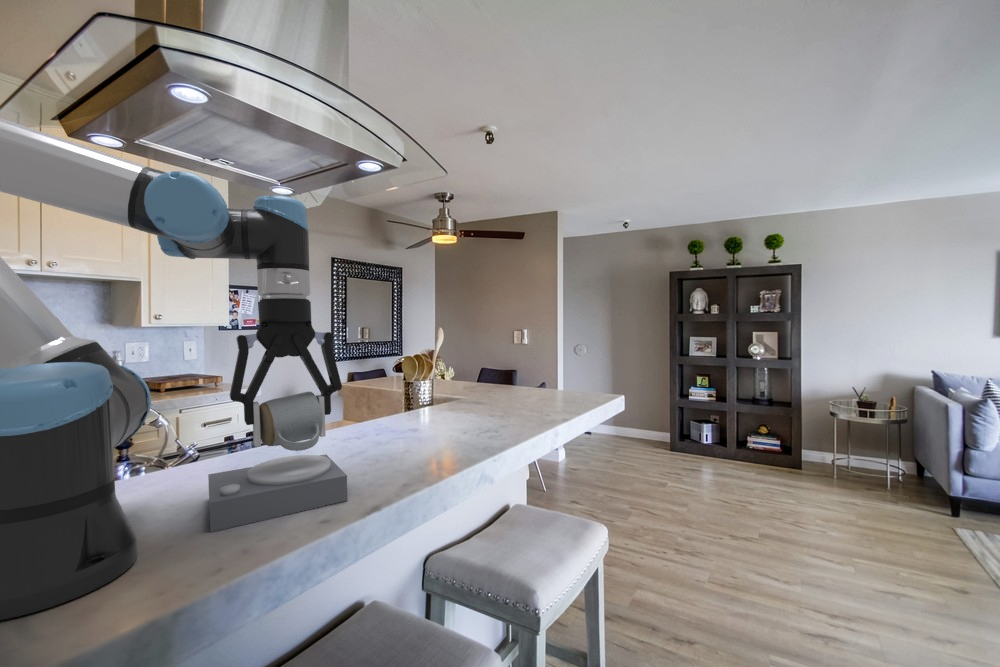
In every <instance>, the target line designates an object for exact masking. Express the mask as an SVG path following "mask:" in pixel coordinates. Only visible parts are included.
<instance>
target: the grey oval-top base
mask: <svg viewBox="0 0 1000 667" xmlns="http://www.w3.org/2000/svg"><path fill="white" fill-rule="evenodd" d="M207 476H208V477H207V478H208V500H209V501H208V502H209V503H208V506H209V525H210V529H209V530H210V533H213V532H218V531H223V530H226V529H230V528H235V527H240V526H244V525H247V524H252V523H257V522H261V521H262V522H263V521H266V520H269V519H274V518H279V517H283V516H287V515H288V516H289V515H292V514H297V513H300V511H301V512H305V511H304V510H306V511H310V510H313V508H314V509H318V508H317V507H319V508H322V507H321V506H323V507H326V506H325V505H327V506H330V505H329V504H332V505H334V504H333V503H336V504H340V503H339V502H341V503H344V502H343V501H345V502H348V501H347V500H349V498H348V475H347V474H346V473H345V471H343V470H342V469H341V468H340V467H339V466H338V465H337V464H336V463H335V462H334V461H333V459H331V457H330V456H328V455H327V453H326V454H325V453H324V454H321V455H316V454H303V455H302V454H301V455H290V456H284V457H279V458H274V459H270V460H269V459H268V460H266V461H264V462H260V463H258V464H256V465H253V466H251V467H244V468H239V469H234V470H233V469H232V470H227V471H221V472H215V473H209V474H207ZM309 509H310V510H309ZM296 512H297V513H296Z"/></svg>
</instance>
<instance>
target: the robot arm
mask: <svg viewBox="0 0 1000 667" xmlns="http://www.w3.org/2000/svg"><path fill="white" fill-rule="evenodd" d="M0 192H1V193H4V194H7V195H11V196H15V197H19V198H23V199H26V200H29V201H32V202H33V201H34V202H37V203H41V204H45V205H48V206H52V207H55V208H59V209H63V210H66V211H70V212H74V213H78V214H81V215H85V216H89V217H92V218H96V219H99V220H103V221H105V222H110V223H114V224H117V225H121V226H123V227H124V226H125V227H127V228H132V229H135V230H138V231H140V232H143V233H147V234H151V235H155V236H156V239H157V242H158V245H159V246H160V249H161V252H163V253H164V255H166V256H168V257H177V258H186V259H189V260H195V259H228V260H231V259H234V260H235V259H239V260H256V279H257V282H256V283H257V284H256V285H257V295H258V296H260V297H262V298H261V299H259V301H258V302H257V304H258V308H257V309H258V329H257V330H256V333H251V334H245V335H243V334H239V335H237V336H236V343H237V350H238V353H237V358H236V361H235V362H236V363H235V367H234V372H233V377H232V382H231V387H230V392H229V398H230V400H231V401H233V402H238V403H242V404H243V415H244V416H243V418H244V423H245V425H246V426H250V425H252V433H253V434H252V435H253V438H252V439H253V440H252V441H253V446H254V447H255V448H258V447H262V443H261V442H262V440H261V436H260V411H259V405H260V403H259V402H258V401H255V399H256V397H257V395H258V393H259V391H260V389H261V386H262V384H263V383H264V380H265V378H266V376H267V373H268V371H269V369H270V368H271V366H272V364H273V363H274V361H275V359H276V358H285V357H287V356H288V357H293V358H294V357H299V359H301V361H302V362H303V364H304V366H305V368H306V370H307V371H308V373H309V374H310V376H311V378H312V380H313V381H314V384H315V385H316V387H317V389H318V390H319V392H320V394H315V396H316V398H317V400H318V402H319V405H320V408H321V411H322V431H321V434H320V436H319V438H323V437H326V435H327V434H326V416H327V415H331V412H332V404H331V402H332V399H331V397H332V394H334V393H336V392H339V391H341V390H342V388H343V385H342V381H341V380H342V379H341V378H340V374H339V369H338V366H337V362H336V358H335V355H334V354H335V353H334V349H333V347H332V345H333V337H334V336H333V335H334V334H333V333H332V332H329V331H326V332H321V331H315V329H314V328H313V325H312V324H313V323H312V306H311V303H312V302H311V301H310V299H307V297H309V296H310V295H311V280H310V251H309V250H310V248H309V246H310V245H309V242H310V241H309V231H310V230H309V224H308V214H307V208H306V206H305V205H304V202H302V201H300V200H299V199H296V198H295V197H294V198H293V197H289V196H284V195H262V196H259V197H256V198H255V200H254V205H253V207H252V208H251V209H245V208H244V209H240V208H229V207H228V206H227V203H226V201H225V199H224V197H223V196H222V194H221V193H220V192H219V190H218V189H217V188H216V187H214V186H213V185H212V184H211V183H210V181H208V180H206V179H205V178H203V177H201V176H200V175H198V174H195V173H192V172H189V171H188V172H187V171H169V172H165V171H163V170H159V169H155V168H152V167H150V166H147V165H144V164H141V163H138V162H135V161H131V160H129V159H127V158H126V159H125V158H122V157H120V156H117V155H113V154H111V153H109V152H108V153H107V152H105V151H101V150H98V149H96V148H93V147H90V146H86V145H83V144H82V143H81V144H80V143H77V142H74V141H71V140H68V139H65V138H62V137H60V136H56V135H53V134H50V133H48V132H44V131H41V130H38V129H35V128H32V127H28V126H27V125H23V124H20V123H17V122H14V121H11V120H8V119H5V118H2V117H0ZM314 339H315V340H316V342H317V344H318V345H319V346H320V349H321V353H322V357H323V361H324V365H325V369H326V372H327V376H328V380H329V384H328V383H327V381H326V380H325V377H323V374H322V372H321V371H320V369H319V367H318V366H317V364H316V362H315V361H314V358H313V356H312V354H311V352H310V350H309V349H308V347H310V344H311V343H312V342H313V340H314ZM256 341H258V343H260V344H261V346H262V347H263V348H264V349H265V351H264V354H263V356H262V358H261V361H260V362H259V364H258V366H257V369H256V371H255V373H254V375H253V377H252V379H251V381H250V383H249V385H248V388H247V389H246V391H245V393H242V388H243V383H244V379H245V378H244V377H245V375H246V374H245V373H246V367H247V364H248V358H249V351H250V350H249V349H252V348H253V347H254V343H255V342H256ZM151 406H152V396H151V392H150V388H149V385H148V384H147V383H146V381H145V380H144V379H143V378H142V377H141V375H139V374H138V373H137V372H135V371H134V370H132V369H130V368H128V367H126V366H123V365H120V364H118V363H117V362H116V361H115V360H114V359H113V358H112V356H111V355H110V354H109V353H108V352H107V351H106V350H105V349H104V348H103V347H102V346H101V345H100V344H99V343H98V342H97V340H95V339H87V338H80V337H77V336H75V335H73V334H72V333H71V331H70V330H69V329H68V328H67V327H66V326H65V325H64V324H63V323H62V322H61V320H60V319H58V317H57V316H56V315H55V314H54V313H53V312H52V311H51V310H50V309H49V307H48V306H46V304H45V303H44V302H43V301H42V300H41V299H40V297H38V296H37V294H36V293H34V291H33V290H32V289H31V288H30V287H29V286H28V285H27V283H26V282H25V281H23V279H21V277H20V276H19V275H18V274H17V273H16V272H15V271H14V269H13V268H11V267H10V266H9V264H8V263H7V261H5V260H4V259H3V258H2V257H1V256H0V621H3V620H9V619H12V618H17V617H21V616H25V615H30V614H33V613H37V612H40V611H42V610H47V609H49V608H53V607H56V606H58V605H61V604H64V603H67V602H68V601H71V600H75V599H77V598H79V597H82V596H83V595H86V594H89V593H90V592H92V591H95V590H96V589H99V588H100V587H101V588H102V586H105V585H107V584H108V583H110V582H112V581H113V580H115V579H116V578H118V577H120V576H121V575H122V574H124V573H125V572H126V571H127V570H128V569H129V568H130V567H131V566H132V565H133V564H134V563H135V562H136V560H137V557H138V545H137V536H136V533H135V532H134V530H133V527H132V526H131V523H130V522H129V519H128V517H127V515H126V514H125V511H124V510H123V508H122V505H121V504H120V502H119V500H118V497H117V495H116V482H115V481H116V480H115V479H116V478H115V477H116V476H115V473H116V472H115V454H114V452H115V451H114V449H115V448H117V446H121V445H122V444H123V443H125V442H126V441H127V440H129V439H131V438H132V437H133V436H135V435H136V434H137V433H138V431H139V430H140V429H141V428H142V427H143V425H144V423H145V421H146V419H147V418H148V415H149V414H150V412H151V411H150V410H151Z"/></svg>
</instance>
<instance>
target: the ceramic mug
mask: <svg viewBox="0 0 1000 667" xmlns="http://www.w3.org/2000/svg"><path fill="white" fill-rule="evenodd" d="M259 411H260V436H261V442H262V443H263V444H264V445H266V446H267V447H277V446H279V447H280V446H281V448H283V449H285V450H287V451H288V450H289V451H290V452H291V451H294V452H298V451H300V452H301V451H306V450H309V449H311V448H313V447H315V446H316V445H317V443H318V442H319V439H320V434H321V431H322V411H321V408H320V405H319V402H318V400H317V398H316V394H314V393H313V392H312V391H303V392H300V393H296V394H291V395H287V396H283V397H278V398H272V399H270V400H267V401H264V402H262V403H259Z"/></svg>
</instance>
